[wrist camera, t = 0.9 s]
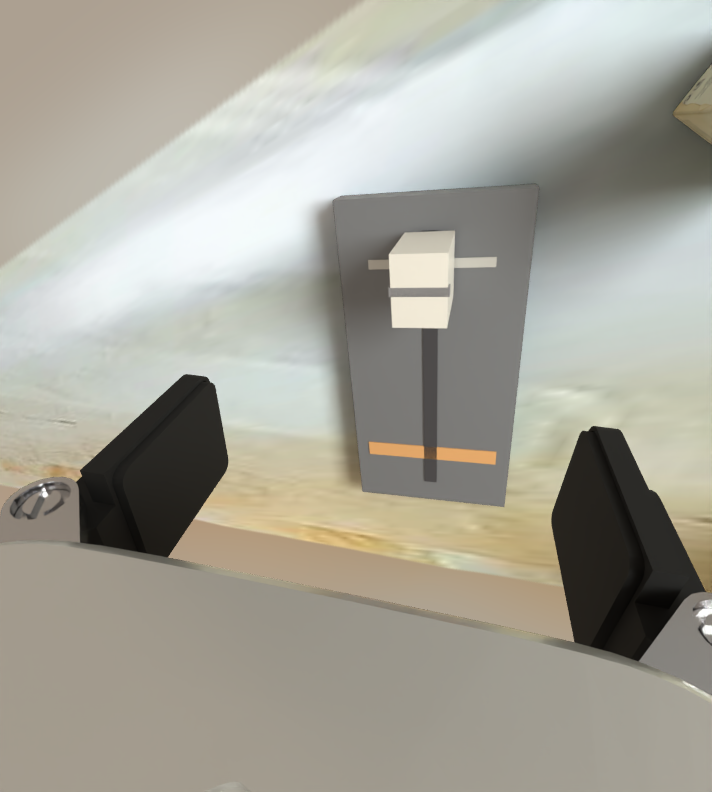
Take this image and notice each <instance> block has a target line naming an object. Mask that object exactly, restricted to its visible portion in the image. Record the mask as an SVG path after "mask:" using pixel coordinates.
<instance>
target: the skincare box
mask: <svg viewBox="0 0 712 792" xmlns="http://www.w3.org/2000/svg"><path fill="white" fill-rule="evenodd" d="M673 116H674V117H676V118H677V119H678V120H680V121H681V122H682V123H684V124H685V125H686V126H688V127H689V128H690V129H691V130H693V131H694V132H695V133H697V134H698V135H699V136H701V137H702V138H703V139H705V140H706V141H707V142H709V143H710V144H711V145H712V64H711V66H710V67H709V68H708V69H707V70H706V72H705V73H704V74H703V75H702V76H701V78H700V79H699V80H698V81H697V83H696V84H695V85H694V86H693V87H692V89H691V90H690V91H689V92H688V94H687V95H686V96H685V98H684V99H683V100H682V101H681V103H680V104H679V105H678V106H677V108H676V109H675V110H674V112H673Z"/></svg>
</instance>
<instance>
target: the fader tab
mask: <svg viewBox="0 0 712 792" xmlns="http://www.w3.org/2000/svg"><path fill="white" fill-rule="evenodd" d="M454 252H455V231H429V232H405V233H404V234H403V236H402V237H401V238H400V240H399V241H398V242H397V244H396V245H395V247H394V248H393V249H392V251H391V252H390V253H389V271H390V286H389V288H388V289H389V297H391V314H392V328H447V326H448V321H449V316H450V311H451V306H452V300H453V291H454Z"/></svg>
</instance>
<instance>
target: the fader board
mask: <svg viewBox="0 0 712 792" xmlns="http://www.w3.org/2000/svg"><path fill="white" fill-rule="evenodd" d="M538 197H539V187H538V185H537V184H523V185H507V186H491V187H475V188H459V189H443V190H427V191H411V192H395V193H379V194H363V195H347V196H340V197H338V198H336V199H334V200H333V208H334V217H335V227H336V237H337V247H338V256H339V266H340V276H341V286H342V295H343V305H344V315H345V325H346V334H347V344H348V354H349V364H350V373H351V383H352V393H353V403H354V413H355V422H356V432H357V442H358V452H359V461H360V471H361V481H362V491H363V492H372V493H381V494H390V495H399V496H408V497H418V498H427V499H436V500H445V501H454V502H464V503H473V504H482V505H491V506H500V507H504V504H505V495H506V486H507V477H508V468H509V459H510V450H511V441H512V432H513V423H514V414H515V405H516V396H517V387H518V378H519V369H520V360H521V351H522V342H523V333H524V324H525V314H526V305H527V296H528V287H529V278H530V269H531V260H532V251H533V242H534V233H535V224H536V215H537V206H538ZM429 231H455V252H454V291H453V300H452V306H451V311H450V316H449V321H448V326H447V328H392V314H391V297H389V289H388V288H389V286H390V271H389V253H390V252H391V251H392V249H393V248H394V247H395V245H396V244H397V242H398V241H399V240H400V238H401V237H402V236H403V234H404V233H405V232H429Z"/></svg>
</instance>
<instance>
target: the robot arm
mask: <svg viewBox="0 0 712 792" xmlns="http://www.w3.org/2000/svg"><path fill="white" fill-rule="evenodd" d="M227 467H228V455H227V449H226V444H225V438H224V433H223V427H222V421H221V416H220V410H219V405H218V399H217V394H216V388H215V385H214V384H213V383H210V381H209V379H208V378H207V377H204V376H196V375H188V374H186V375H183V376H182V377H181V378H180V379H179V380H178V381H177V382H175V383H174V384H173V385H172V386H171V387H170V388H169V389H168V390H167V391H166V392H165V393H164V394H162V395H161V396H160V397H159V398H158V399H157V400H156V401H155V402H154V403H153V404H152V405H150V406H149V407H148V408H147V409H146V410H145V411H144V412H143V413H142V414H141V415H140V416H139V417H137V418H136V419H135V420H134V421H133V422H132V423H131V424H130V425H129V426H128V427H127V428H126V429H124V430H123V431H122V432H121V433H120V434H119V435H118V436H117V437H116V438H115V439H114V440H113V441H111V442H110V443H109V444H108V445H107V446H106V447H105V448H104V449H103V450H102V451H101V452H100V453H98V454H97V455H96V456H95V457H94V458H93V459H92V460H91V461H90V462H89V463H88V464H87V465H85V466H84V467H83V468H82V469H81V470H80V472H81V474H82V477H81V478H80V479H79V480H78V481H77V482H75V481H73V480H72V479H70V478H66V477H51V478H46V479H41V480H39V481H36V482H33V483H30V484H28V485H27V486H25V487H23V488H21V489H19V490H18V491H17V492H15V493H14V494H13V495H11V496H10V497H9V499H8V500H7V501H6V502H5V503H4V505H3V507H2V510H1V514H0V792H712V593H708V592H706V591H705V589H704V587H703V585H702V583H701V581H700V579H699V577H698V575H697V573H696V571H695V569H694V567H693V565H692V563H691V561H690V559H689V557H688V555H687V552H686V550H685V548H684V546H683V544H682V542H681V540H680V538H679V536H678V534H677V532H676V530H675V528H674V526H673V524H672V522H671V520H670V518H669V516H668V514H667V512H666V510H665V508H664V505H663V503H662V501H661V499H660V498H659V496H658V495H657V493H656V492H654V491H652V490H649V489H648V487H647V485H646V482H645V480H644V478H643V476H642V474H641V472H640V470H639V468H638V465H637V463H636V461H635V459H634V457H633V455H632V453H631V451H630V448H629V446H628V444H627V442H626V440H625V438H624V436H623V434H622V432H621V431H620V430H619V429H613V428H605V427H597V426H593V427H591V428H590V429H589V431H582V432H581V433H580V435H579V438H578V441H577V444H576V446H575V449H574V452H573V455H572V458H571V461H570V463H569V466H568V469H567V472H566V475H565V478H564V480H563V483H562V486H561V489H560V492H559V495H558V497H557V500H556V503H555V506H554V509H553V512H552V529H553V535H554V540H555V545H556V550H557V555H558V560H559V565H560V570H561V575H562V580H563V585H564V590H565V596H566V601H567V606H568V610H569V616H570V621H571V626H572V631H573V636H574V641H575V643H574V642H570V641H566V640H562V639H557V638H552V637H548V636H544V635H539V634H535V633H531V632H526V631H522V630H517V629H513V628H508V627H504V626H500V625H495V624H490V623H485V622H481V621H476V620H471V619H467V618H462V617H457V616H452V615H448V614H443V613H438V612H433V611H428V610H424V609H419V608H414V607H409V606H404V605H400V604H395V603H390V602H385V601H381V600H376V599H370V598H366V597H361V596H356V595H351V594H347V593H341V592H337V591H332V590H327V589H322V588H317V587H312V586H307V585H303V584H298V583H293V582H288V581H283V580H278V579H273V578H267V577H263V576H258V575H253V574H248V573H243V572H238V571H233V570H228V569H223V568H218V567H213V566H207V565H203V564H198V563H193V562H187V561H182V560H178V559H173V558H168V556H169V555H170V553H171V552H172V550H173V549H174V547H175V546H176V544H177V543H178V541H179V540H180V538H181V537H182V535H183V534H184V532H185V531H186V529H187V528H188V526H189V525H190V523H191V522H192V521H193V519H194V518H195V516H196V515H197V513H198V512H199V510H200V509H201V507H202V506H203V504H204V503H205V501H206V500H207V498H208V497H209V495H210V494H211V493H212V491H213V490H214V488H215V487H216V485H217V484H218V482H219V481H220V479H221V478H222V476H223V475H224V473H225V472H226V470H227Z"/></svg>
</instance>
